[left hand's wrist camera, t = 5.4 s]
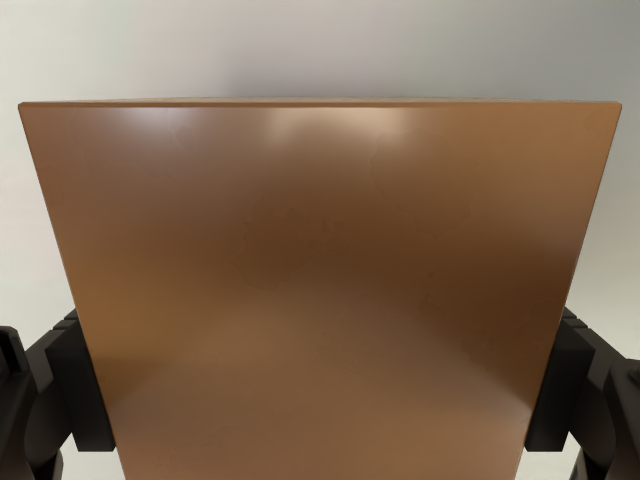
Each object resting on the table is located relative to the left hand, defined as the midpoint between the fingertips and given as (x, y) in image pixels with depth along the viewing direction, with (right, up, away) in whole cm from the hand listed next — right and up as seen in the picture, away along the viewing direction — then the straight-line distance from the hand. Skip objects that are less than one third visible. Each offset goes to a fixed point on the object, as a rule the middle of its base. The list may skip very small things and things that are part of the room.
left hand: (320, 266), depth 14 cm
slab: (0, -22, +10) cm, 24 cm away
